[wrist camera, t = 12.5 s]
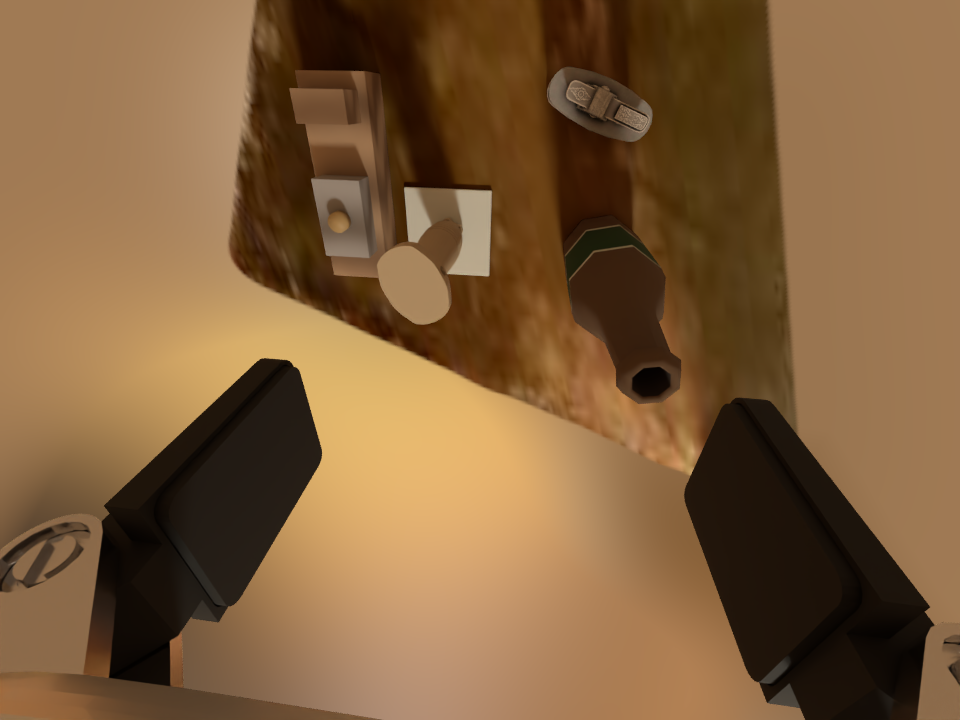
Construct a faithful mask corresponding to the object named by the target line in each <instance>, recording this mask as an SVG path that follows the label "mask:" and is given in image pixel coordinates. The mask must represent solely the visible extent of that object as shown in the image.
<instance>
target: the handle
mask: <svg viewBox="0 0 960 720" xmlns="http://www.w3.org/2000/svg"><path fill="white" fill-rule="evenodd" d="M462 232H463V228H462V226H461V225H460V224H457V223H455V222H453V221H452V220H451V218H445V219H444V220H443V221H440V222H437V223H435V224H433V225H432V226H430V227H429V228H428V229H427V230H426V231H425V232H424V233H423V235H422V236H421V237H420V239H419V241H418V243H416V242H403V243H400V244H397V245H395V246H393V247H392V248H390V249H389V250H388V251H387V252H386V253H385V254H383V256H382V257H381V258H380V260H379V261H378V264H377V269H378V275H379V280H380V284H381V287H382V290H383V291H384V293H385V295H386V296H387V298H388V299H389V301H390V303H391V304H392V305H393V307H394V308H395V309H396V310H397V311H398V312H399V313H400V314H402V315H403V316H405V317H406V318H407V319H409V320H410V321H412V322H413V323H415V324H429V323H432V322H435V321H437V320H439V319H441V318H442V317H443V316H445V314H446V313H447V312H448V310H449V308H450V305H451V289H450V282H449V279H448V275H447V273H448V272H449V270H450V269H451V268H452V266H453V265H454V263H455V262H456V260H457V258H458V256H459V254H460V251H461V248H462Z"/></svg>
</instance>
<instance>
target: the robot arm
mask: <svg viewBox="0 0 960 720" xmlns="http://www.w3.org/2000/svg"><path fill="white" fill-rule="evenodd" d="M321 458H322V449H321V445H320V442H319V439H318V435H317V431H316V428H315V424H314V421H313V417H312V414H311V410H310V406H309V403H308V399H307V396H306V392H305V389H304V385H303V382H302V378H301V374H300V372H299V370H298V369H297V368H296V367H293V365H292V363H291V362H290V361H288V360H279V359H266V358H264V359H260V360H259V361H257V362H256V363H255V364H254V365H253V366H252V367H251V368H250V369H249V370H248V371H247V372H246V373H244V375H242V376H241V377H240V378H239V379H238V380H237V381H236V382H235V383H234V384H233V385H232V386H231V387H230V388H229V389H228V390H227V391H225V392H224V393H223V394H222V395H221V396H220V397H219V398H218V399H217V400H216V401H215V402H214V403H213V404H212V405H211V406H209V407H208V408H207V409H206V410H205V411H204V412H203V413H202V414H201V415H200V416H199V417H198V418H197V419H196V420H194V422H192V423H191V424H190V425H189V426H188V427H187V428H186V429H185V430H184V431H183V432H182V433H181V434H180V435H179V436H177V437H176V438H175V439H174V440H173V441H172V442H171V443H170V444H169V445H168V446H167V447H166V448H165V449H164V450H163V451H162V452H161V453H159V454H158V455H157V456H156V457H155V458H154V459H153V460H152V461H151V462H150V463H149V464H148V465H147V466H146V467H145V468H143V469H142V470H141V471H140V472H139V473H138V474H137V475H136V476H135V477H134V478H133V479H132V480H131V481H130V482H129V483H127V484H126V485H125V486H124V487H123V488H122V489H121V490H120V491H119V492H118V493H117V494H116V495H115V496H114V497H113V498H112V499H110V500H109V501H108V502H107V503H106V504H105V505H104V507H105V508H106V509H107V510H108V512H109V513H110V514H109V515H108V516H107V517H106V518H105V519H104V520H103V521H102V522H101V521H100V520H98V518H96V517H95V516H92V515H88V514H73V515H67V516H63V517H59V518H56V519H52V520H50V521H47V522H45V523H43V524H41V525H38V526H36V527H34V528H32V529H31V530H29V531H27V532H25V533H23V534H22V535H20V536H19V537H17V538H15V539H14V540H12V541H11V542H10V543H9V544H7V545H6V546H5V547H3V548H2V549H1V550H0V720H379V719H373V718H367V717H361V716H355V715H349V714H343V713H337V712H330V711H324V710H318V709H312V708H305V707H299V706H292V705H286V704H280V703H273V702H267V701H261V700H255V699H249V698H242V697H236V696H230V695H223V694H217V693H211V692H205V691H198V690H192V689H185V688H184V686H183V685H184V684H183V658H182V629H183V628H184V626H185V625H186V623H187V622H188V620H189V619H190V617H192V618H193V619H200V620H206V621H213V622H219V621H220V619H221V617H222V615H223V614H224V613H225V611H226V609H227V607H228V606H232V605H234V604H235V603H236V602H237V601H238V600H239V599H240V597H241V596H242V594H243V592H244V591H245V589H246V587H247V586H248V584H249V582H250V581H251V579H252V577H253V575H254V574H255V572H256V570H257V569H258V567H259V565H260V564H261V562H262V560H263V559H264V557H265V555H266V553H267V552H268V550H269V549H270V547H271V545H272V544H273V542H274V540H275V538H276V537H277V535H278V533H279V532H280V530H281V528H282V527H283V525H284V523H285V522H286V520H287V518H288V516H289V515H290V513H291V511H292V510H293V508H294V507H295V505H296V503H297V501H298V500H299V498H300V496H301V495H302V493H303V491H304V490H305V488H306V486H307V485H308V483H309V481H310V480H311V478H312V476H313V475H314V473H315V471H316V469H317V468H318V466H319V464H320V461H321ZM684 497H685V503H686V506H687V509H688V512H689V514H690V517H691V520H692V523H693V526H694V528H695V531H696V534H697V536H698V539H699V542H700V545H701V547H702V550H703V553H704V555H705V558H706V561H707V564H708V566H709V569H710V572H711V575H712V577H713V580H714V583H715V585H716V588H717V591H718V594H719V596H720V599H721V602H722V604H723V607H724V610H725V612H726V615H727V618H728V620H729V623H730V626H731V629H732V632H733V634H734V637H735V640H736V643H737V645H738V648H739V651H740V653H741V656H742V659H743V662H744V664H745V667H746V669H747V671H748V673H749V675H750V676H751V678H752V679H753V680H754V681H756V682H759V683H760V686H761V688H762V691H763V693H764V696H765V699H766V701H767V703H770V704H777V705H784V706H790V707H797V708H800V709H801V711H802V713H803V716H804V718H805V720H960V623H944V622H942V623H940V624H937V625H934V624H933V623H932V621H931V620H930V618H929V617H928V616H927V614H926V613H925V611H926V610H927V609H928V608H930V606H929V605H928V603H927V602H926V601H925V600H924V598H923V597H922V596H921V594H920V593H919V592H918V591H917V589H916V588H915V587H914V585H913V584H912V583H911V582H910V580H909V579H908V578H907V576H906V575H905V574H904V572H903V571H902V570H901V569H900V567H899V566H898V565H897V564H896V562H895V561H894V560H893V558H892V557H891V556H890V555H889V553H888V552H887V551H886V549H885V548H884V547H883V545H882V544H881V543H880V541H879V540H878V539H877V538H876V536H875V535H874V534H873V532H872V531H871V530H870V529H869V527H868V526H867V525H866V524H865V522H864V521H863V520H862V518H861V517H860V516H859V515H858V513H857V512H856V511H855V509H854V508H853V507H852V505H851V504H850V503H849V502H848V500H847V499H846V498H845V496H844V495H843V494H842V492H841V491H840V490H839V489H838V487H837V486H836V485H835V484H834V482H833V481H832V480H831V478H830V477H829V476H828V475H827V473H826V472H825V471H824V469H823V468H822V467H821V465H820V464H819V463H818V462H817V460H816V459H815V458H814V456H813V455H812V454H811V452H810V451H809V450H808V449H807V447H806V446H805V445H804V443H803V442H802V441H801V439H800V438H799V437H798V436H797V434H796V433H795V432H794V430H793V429H792V428H791V427H790V425H789V424H788V423H787V421H786V420H785V419H784V418H783V416H782V415H781V414H780V412H779V411H778V410H777V409H776V407H775V406H774V405H773V404H772V403H771V402H770V401H768V400H761V399H749V398H735V399H734V400H733V401H732V402H731V403H730V404H725V405H724V406H723V407H722V408H721V410H720V413H719V415H718V417H717V419H716V421H715V424H714V426H713V428H712V430H711V432H710V435H709V437H708V439H707V441H706V443H705V446H704V448H703V450H702V452H701V454H700V457H699V459H698V461H697V463H696V465H695V468H694V470H693V472H692V474H691V476H690V479H689V481H688V483H687V485H686V488H685V494H684Z"/></svg>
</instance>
